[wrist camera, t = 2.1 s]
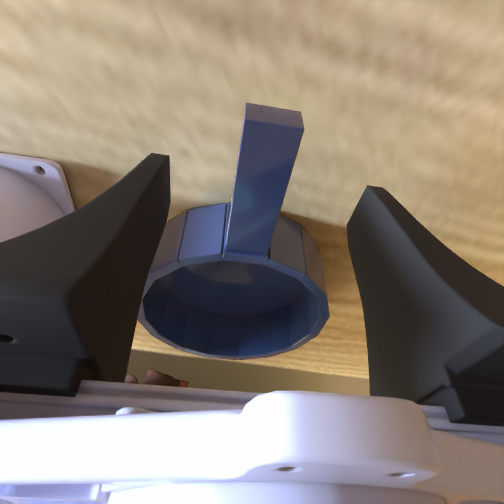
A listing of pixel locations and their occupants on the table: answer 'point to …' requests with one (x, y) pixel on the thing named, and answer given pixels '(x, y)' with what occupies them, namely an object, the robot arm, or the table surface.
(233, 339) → the blue measuring scoop
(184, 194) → the table surface
